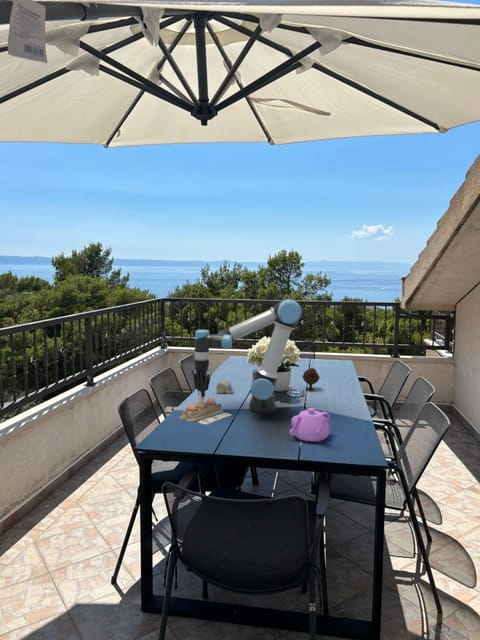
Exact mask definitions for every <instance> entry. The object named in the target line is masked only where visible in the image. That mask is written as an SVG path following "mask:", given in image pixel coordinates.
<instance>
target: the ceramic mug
mask: <svg viewBox="0 0 480 640" xmlns="http://www.w3.org/2000/svg"><path fill="white" fill-rule="evenodd" d="M216 391H217V393H219V394H225V393H226V394H229V395H233V394H234V392H235V390H234V389H233V388H232V382H230V380H228V379H222V380H221V381H219V382H218V383H217V385H216Z"/></svg>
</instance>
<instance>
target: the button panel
mask: <svg viewBox="0 0 480 640" xmlns="http://www.w3.org/2000/svg"><path fill="white" fill-rule="evenodd" d="M222 413H224V410H223V409H222V403H218V402H215V405H213V406H209V405H207V401H206V408H203V409H200V408H197V411H194V412H190V411H188V407H187V408H184V409H181V415H179V417H178V418H179V419H181V420H183V421H187V422H190V423H194V422H199V421H201V420H204V419H207V418H210V417H213V416H216V415H219V414H222Z"/></svg>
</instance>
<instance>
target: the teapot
mask: <svg viewBox="0 0 480 640" xmlns="http://www.w3.org/2000/svg"><path fill="white" fill-rule="evenodd" d="M324 415H326V417H325V416H324ZM330 420H331V416H330V414H329V413H328V412H326V411H322V412H321V411H318V410H316V408H314V407H308V408H307V409H305V410H301V411H300V412H299V413H298V415H297V414H296V415H294V416H293V417H291V427H292V428H291V429H290V430H289V434H290V435H291V436H295V438H296V439H298V440H301V441H304V442H308V441H310V443H311V442H321V441H324V440H325V439H327V438H328V436H329V435H330V430H331V429H332V426H331V424H329V423H330Z"/></svg>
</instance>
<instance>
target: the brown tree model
mask: <svg viewBox="0 0 480 640" xmlns="http://www.w3.org/2000/svg"><path fill="white" fill-rule="evenodd" d="M302 379H303V381H304V382H305V383H306V384H308V386H309V387H308V388H306V391H307V390H308V391H307V392H315V391H314V390H315V388H313V385H314V384H316V383H317V382H318V381H319V380H320V375H319V373H318V372H317V369H316V368H314V367H310V368H309V369H307V370H304V372H303V375H302Z"/></svg>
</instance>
